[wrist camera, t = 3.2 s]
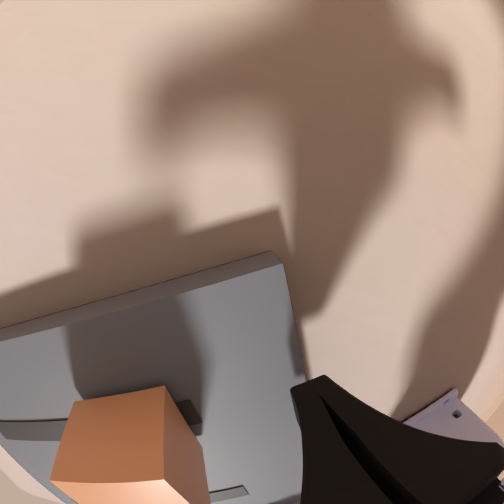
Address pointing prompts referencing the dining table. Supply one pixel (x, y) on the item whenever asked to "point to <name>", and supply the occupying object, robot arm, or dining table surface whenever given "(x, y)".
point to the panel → (171, 374)
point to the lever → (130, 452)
